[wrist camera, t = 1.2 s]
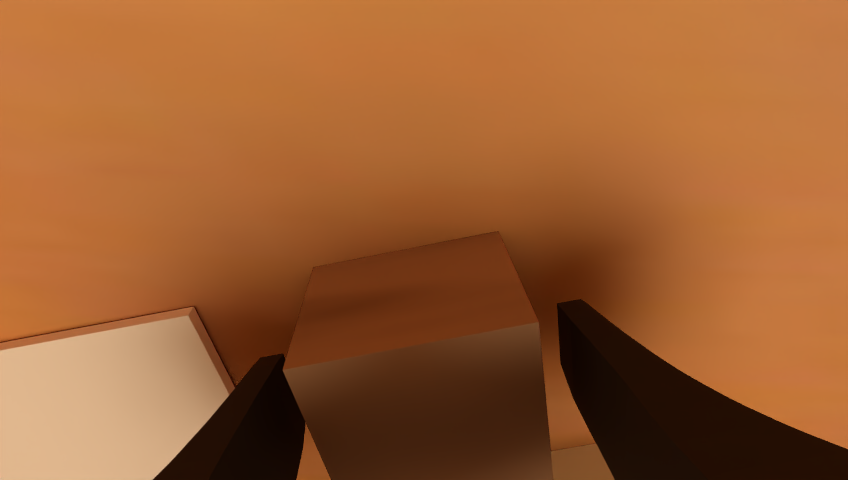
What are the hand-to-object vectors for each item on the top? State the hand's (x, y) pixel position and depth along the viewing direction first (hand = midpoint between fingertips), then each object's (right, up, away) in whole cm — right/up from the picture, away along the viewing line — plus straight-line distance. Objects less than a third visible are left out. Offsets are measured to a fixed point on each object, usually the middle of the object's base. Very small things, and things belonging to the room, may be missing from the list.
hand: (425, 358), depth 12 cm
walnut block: (0, +1, +1) cm, 2 cm away
